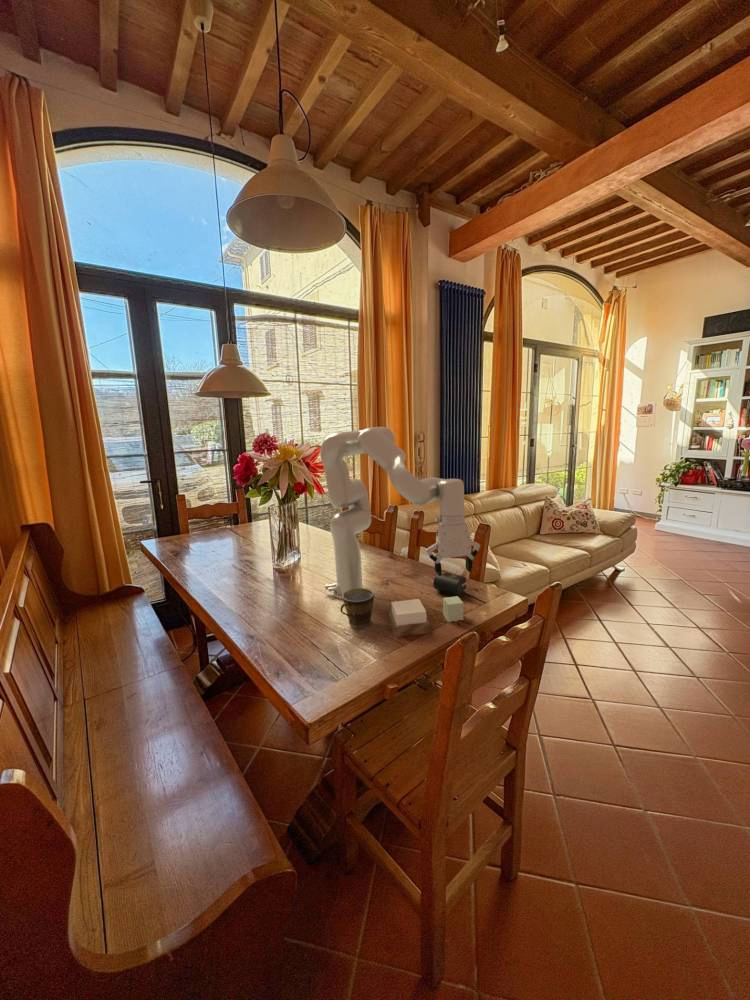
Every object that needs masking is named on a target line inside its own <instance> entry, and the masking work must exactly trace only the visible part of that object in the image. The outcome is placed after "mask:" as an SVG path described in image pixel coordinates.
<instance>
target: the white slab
mask: <svg viewBox="0 0 750 1000" xmlns="http://www.w3.org/2000/svg"><path fill="white" fill-rule="evenodd" d="M390 603H391V611H392V614H393V616H394V619H395V621H396V624H397V626H400V625H408V624H417V623H425V622H427V621H426V616H427V611H426V608H425V607H424V605H423V604H422V601H421V600H420V598H417V599H416V598H415V599H405V600H398V601H391V602H390Z"/></svg>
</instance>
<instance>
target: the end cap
mask: <svg viewBox="0 0 750 1000" xmlns="http://www.w3.org/2000/svg"><path fill="white" fill-rule="evenodd" d="M441 574H442V575H441V576H439V575H438V574H437V573H436V575H435V576H434V578H433V583H432V585H433V588H434V589H435V590H437V592H441V593H444V594H448V595H451V596H454V597H455V596H458V597H459V598H460V597H462V596H463V595H465V594H466V589H467V584H465V583H466V582H467V578H466V577H465V576H462V575H461V574H460V575H457V576H454V577H453V576H452V575H453V574H452V573H451V572H443V573H441ZM463 584H464V585H463Z"/></svg>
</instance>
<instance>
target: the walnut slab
mask: <svg viewBox="0 0 750 1000" xmlns="http://www.w3.org/2000/svg"><path fill="white" fill-rule="evenodd" d="M387 613H388V622H389V624H390V627H391V630H392V633H393V635H394V637H395V638H398V637H399V638H400V637H406V636H407V637H408V636H414V635H415V636H416V635H424V634H425V635H426V634H431V633H432V628H431V627H432V625H431V622H430V620H429V618H428V616H427V615H426V621H427V622H425V623H417V624H408V625H400V626H397V624H396V621H395V619H394V616H393V614H392V610H388V611H387Z"/></svg>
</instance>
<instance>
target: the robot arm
mask: <svg viewBox="0 0 750 1000" xmlns="http://www.w3.org/2000/svg"><path fill="white" fill-rule="evenodd" d="M395 438H396V437H395V434H394V433H393V431H392V430H391V429H390V428H388V427H385V426H374V427H373V426H372V427H368V428H364V429H361V430H354V431H353V430H352V431H351V430H350V431H339V432H333V433H332V434H329V435H328V436H327V437H326V438H325V439H324V440H322V443H321V446H320V453H319V454H320V458H321V463H322V466H323V471H324V476H325V482H326V487H327V493H328V497H329V498H328V499H329V501H330V504H331V505H332V507H333V508H335V509H343V508H347V507H348V509H346V510H342V511H340V512H338V513H336V514H334V515H333V516H332V518H331V519H330V523H329V530H330V534H331V537H332V540H333V547H334V548H333V549H334V561H335V573H336V580H335V582H334V583H332V584H330V583H329V584H328V583H327V584H324V589H325V591H327V590H328V592H333V596H334V597H335V598H337V599H338V600H342V601H343V597H342V595H343V594H344V593H345V592H346V591H348V590H351V589H356V588H365V589H368V588H367V586H365V585H364V584H363V571H362V557H361V554H362V553H361V545H360V542H359V540H358V538H357V534H359V533H362V532H364V531H365V530H367V529H368V528H369V527H370V526H371V524H372V512H371V507H370V500H369V494H368V489H367V487H366V485H365V483H364V482H363V481H361V480H360V479H358V478H350V477H351V476H350V472H349V468H348V465H347V463H346V462H345V460H344V459H343V458H344V457H350V456H356V455H362V454H366V455H368V457H370V458H371V459H372V460H373V461H375V462H376V464H378V466H380V467H381V468H382V469H383V470H384V471H385V472H386V473H387V475H388V478H389V481H390V482H391V484H392V486H393V488H394V490H396V491H397V492H398V494H400V495H401V496H402V497H403V498H405V500H407V501H408V502H409V503H411V504H413V505H414V506H418V507H421V506H425V505H428V504H430V503H433V502H437V501H438V504H439V505H438V507H439V514H438V516H437V517H436V516H435V518H434V520H435V522H436V523H437V522H438V524H437V529H436V536H435V543H433V544H432V545H430V546H428V547H427V548H425V552H426V554H427V555H428V557H429V558H430V559H431V561H433V562H434V571H435V573H436V575H437V574H438V575H439V576H441V575H442V574H443V573H442V563H441V561H442V559H449V558H457V557H458V558H459V557H465V570H466V571H467V572H469V573H472V569H473V560H474V559H475V556H477V554H478V552H479V550H480V548H481V544H480V543H478V542H477V541H474V540H471V535H470V527H469V525H468V522H466V520H465V518H466V517H465V515H466V514H465V484H464V481H463V480H462V479H460V478H439V477H434V476H433V477H432V476H430V477H427V478H426V477H425V478H423V479H418V478H417V477H416V476H415V475H414V474H413V473H411V472H410V470H409V469H408V467H406V465H405V462H406V461H405V460H406V458H407V455H406V453H405V451H404V450H403V449H402V448H400V447H399V446H398V445H397V444H395V441H396V439H395ZM472 547H473V548H472ZM435 550H436V551H435ZM434 551H435V552H436V554H435V555H434V554H433V552H434Z"/></svg>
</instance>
